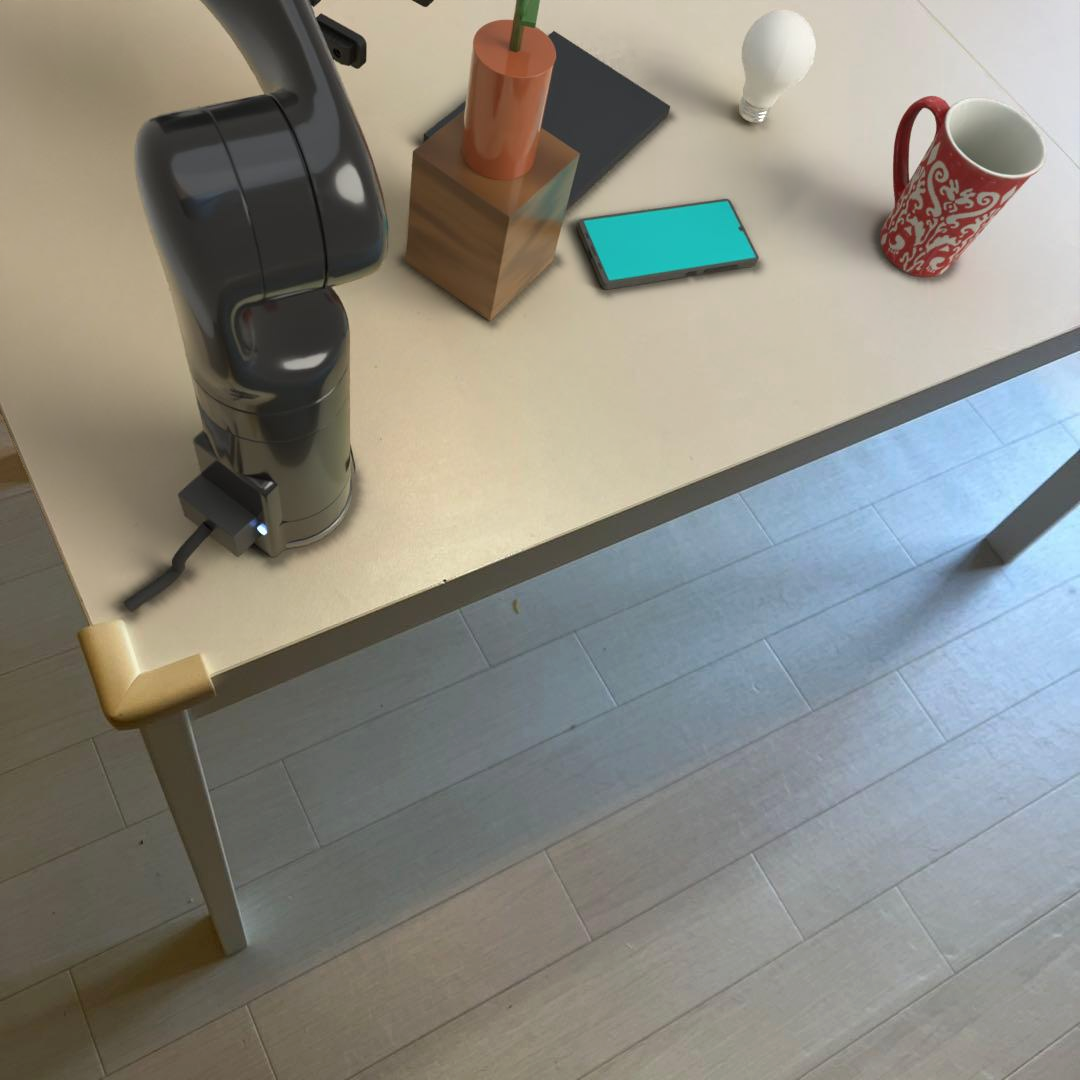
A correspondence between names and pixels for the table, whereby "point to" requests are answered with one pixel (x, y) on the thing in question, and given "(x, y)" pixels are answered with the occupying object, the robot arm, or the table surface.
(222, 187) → the robot arm
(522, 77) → the flower pot
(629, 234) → the smartphone
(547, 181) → the wooden block
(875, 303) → the table surface
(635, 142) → the placemat
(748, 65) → the light bulb
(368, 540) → the table surface
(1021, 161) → the mug
